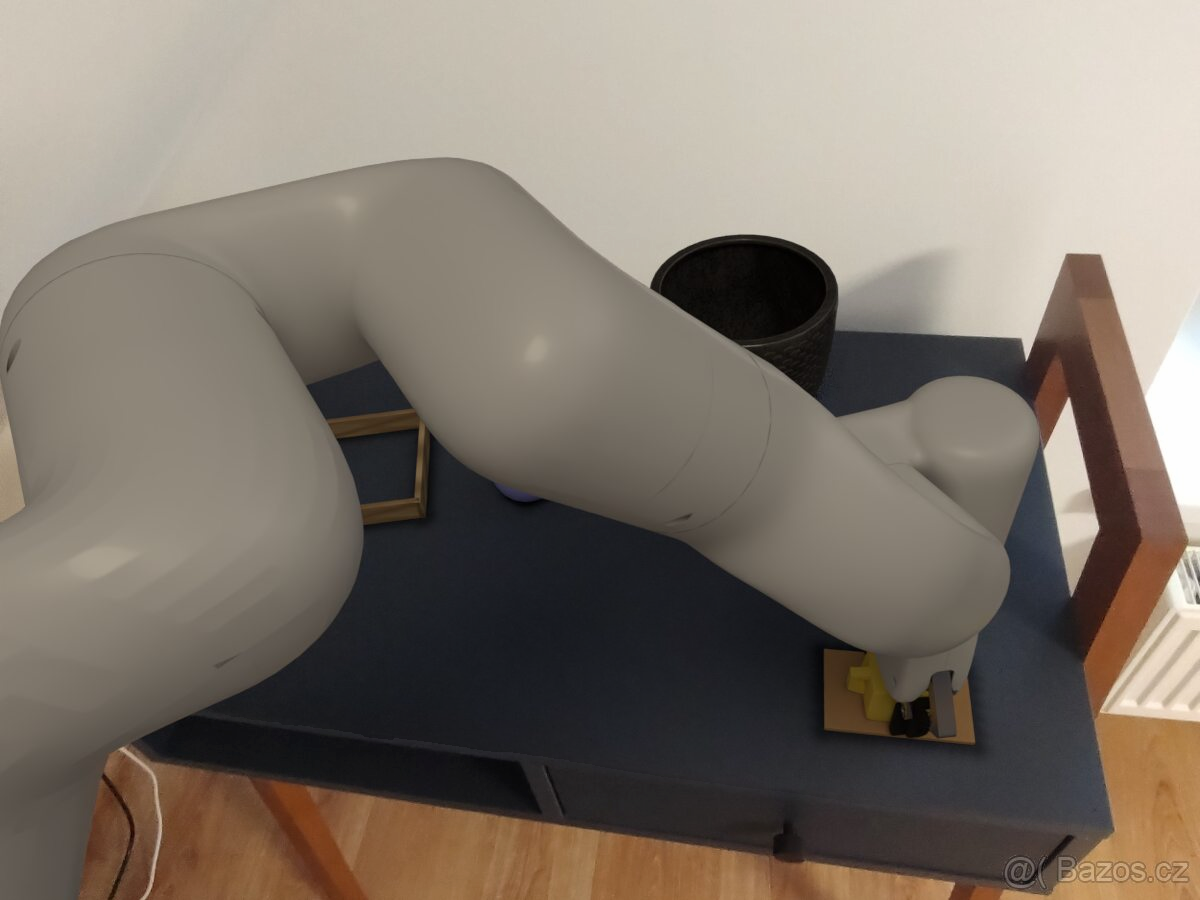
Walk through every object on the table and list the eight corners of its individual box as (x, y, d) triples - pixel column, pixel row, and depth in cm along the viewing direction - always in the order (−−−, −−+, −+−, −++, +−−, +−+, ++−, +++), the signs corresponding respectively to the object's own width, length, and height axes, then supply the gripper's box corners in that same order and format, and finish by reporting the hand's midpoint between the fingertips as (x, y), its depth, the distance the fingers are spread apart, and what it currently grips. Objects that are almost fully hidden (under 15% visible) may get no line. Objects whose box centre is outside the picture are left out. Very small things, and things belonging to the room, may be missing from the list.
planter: (818, 483, 89) (832, 355, 78) (641, 463, 93) (630, 339, 81) (831, 364, 100) (845, 237, 89) (673, 351, 104) (666, 228, 93)
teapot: (942, 662, 75) (954, 626, 71) (955, 729, 71) (968, 695, 67) (840, 659, 76) (846, 624, 72) (846, 725, 72) (854, 692, 68)
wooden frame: (425, 517, 91) (420, 501, 89) (301, 533, 91) (293, 517, 89) (431, 422, 100) (426, 406, 98) (318, 437, 100) (311, 421, 98)
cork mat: (974, 745, 70) (975, 742, 70) (823, 730, 72) (824, 727, 72) (964, 663, 75) (965, 660, 74) (823, 651, 77) (823, 648, 76)
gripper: (840, 458, 66) (820, 604, 79) (920, 674, 54) (880, 804, 67) (947, 444, 66) (909, 593, 79) (1050, 658, 54) (985, 792, 67)
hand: (896, 689), depth 72 cm, fingers closed on teapot, 6 cm apart
